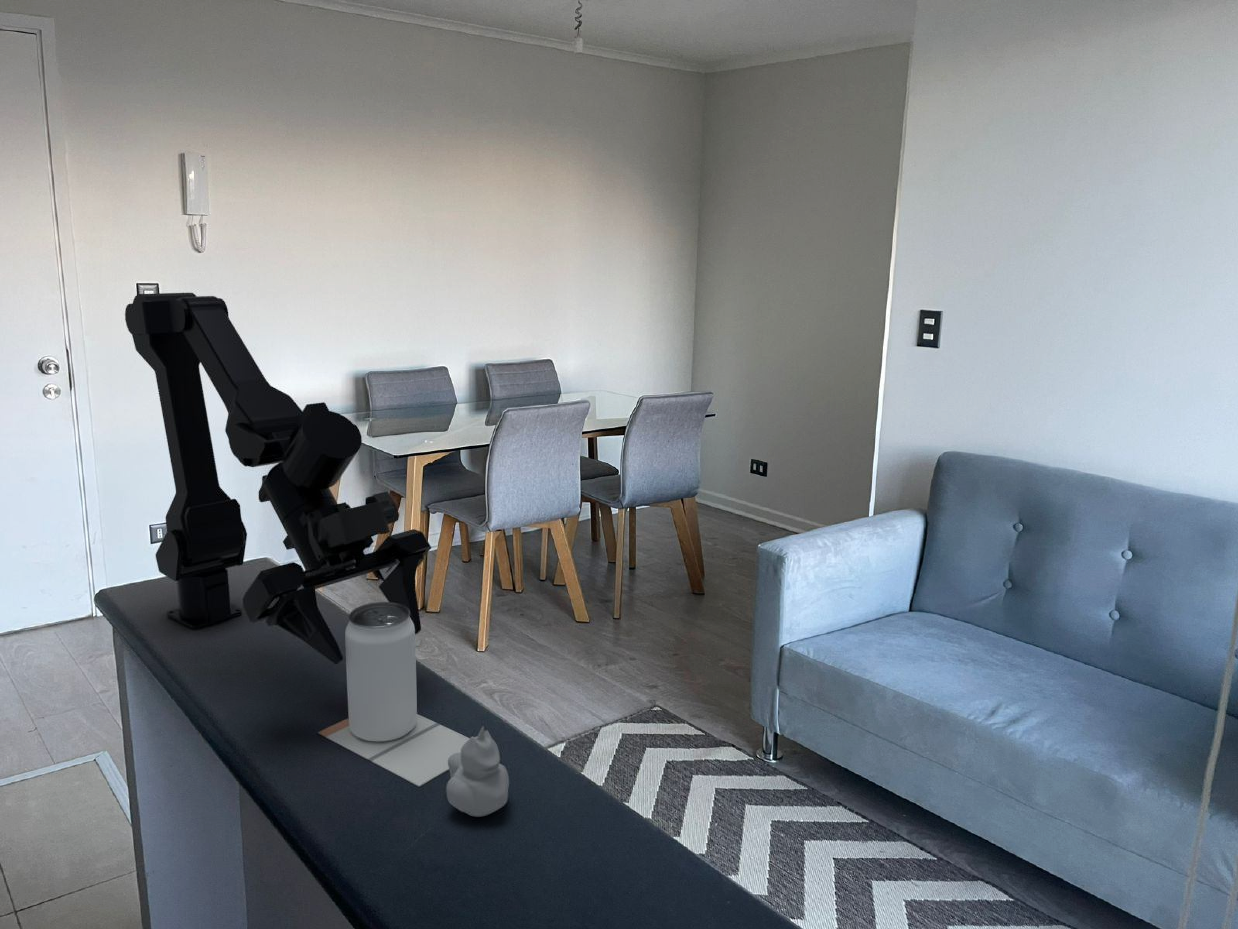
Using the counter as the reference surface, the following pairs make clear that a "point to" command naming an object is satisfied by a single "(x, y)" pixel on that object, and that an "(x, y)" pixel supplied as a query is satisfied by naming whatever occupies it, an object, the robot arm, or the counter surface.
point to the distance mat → (405, 749)
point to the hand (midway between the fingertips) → (380, 646)
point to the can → (381, 672)
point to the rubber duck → (477, 777)
